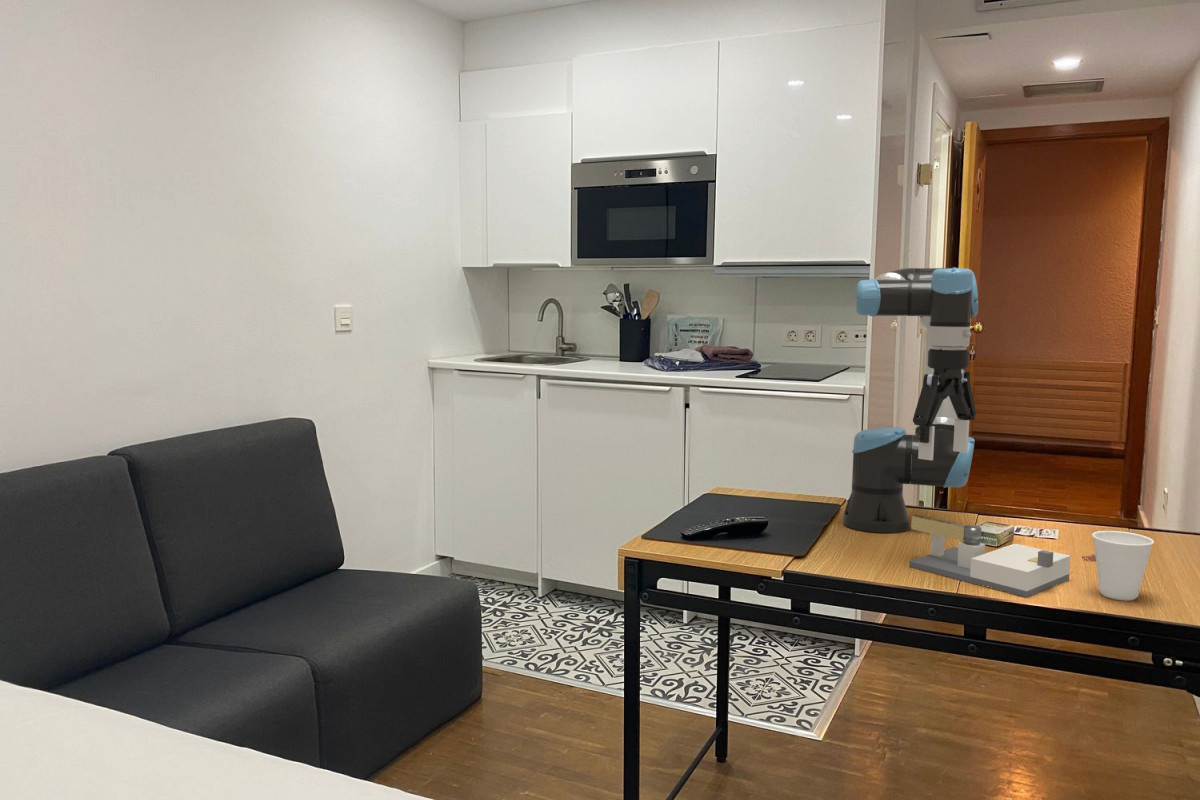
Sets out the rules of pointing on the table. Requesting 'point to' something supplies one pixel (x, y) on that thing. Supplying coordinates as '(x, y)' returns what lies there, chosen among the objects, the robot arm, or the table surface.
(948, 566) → the door board
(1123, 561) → the cup
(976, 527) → the latch bar
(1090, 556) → the key
